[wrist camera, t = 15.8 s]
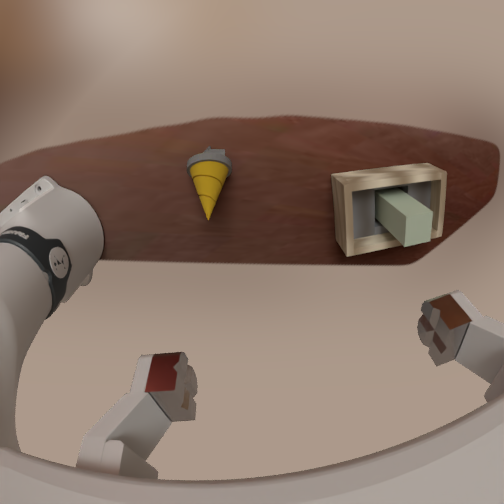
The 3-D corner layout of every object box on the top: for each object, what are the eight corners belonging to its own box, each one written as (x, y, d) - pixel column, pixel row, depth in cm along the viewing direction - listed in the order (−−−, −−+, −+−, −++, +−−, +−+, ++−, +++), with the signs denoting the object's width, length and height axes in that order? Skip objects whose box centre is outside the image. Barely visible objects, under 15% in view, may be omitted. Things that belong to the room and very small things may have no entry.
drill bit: (239, 147, 36) (241, 220, 34) (207, 161, 39) (205, 230, 36) (213, 127, 32) (211, 206, 29) (179, 144, 35) (174, 218, 32)
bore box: (335, 239, 43) (346, 256, 38) (331, 174, 38) (343, 184, 34) (425, 222, 42) (441, 236, 38) (427, 163, 37) (446, 171, 33)
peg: (372, 215, 41) (404, 246, 33) (371, 189, 39) (406, 216, 31) (395, 211, 41) (430, 241, 32) (395, 186, 39) (432, 211, 30)
